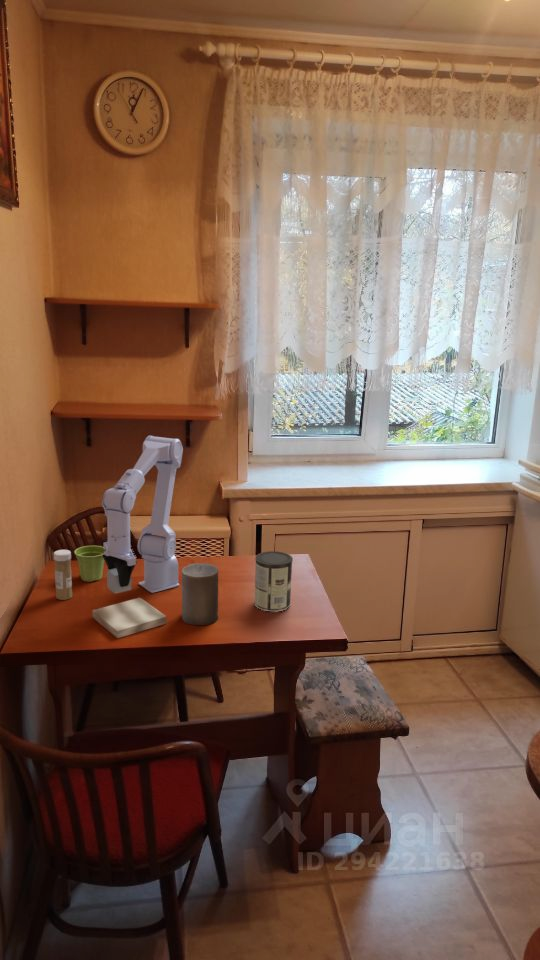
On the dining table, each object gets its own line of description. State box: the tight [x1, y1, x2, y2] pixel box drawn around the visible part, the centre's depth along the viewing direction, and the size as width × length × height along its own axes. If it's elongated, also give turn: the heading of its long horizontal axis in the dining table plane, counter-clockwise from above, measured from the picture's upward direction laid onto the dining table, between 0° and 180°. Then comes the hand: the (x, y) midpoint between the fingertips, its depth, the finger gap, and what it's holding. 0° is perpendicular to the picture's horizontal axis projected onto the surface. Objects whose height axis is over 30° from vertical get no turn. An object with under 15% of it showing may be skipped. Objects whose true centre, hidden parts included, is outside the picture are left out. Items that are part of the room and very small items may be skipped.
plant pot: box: [73, 545, 107, 583], centre depth 203 cm, size 9×9×9 cm
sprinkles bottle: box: [53, 549, 74, 601], centre depth 189 cm, size 5×5×14 cm
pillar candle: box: [181, 562, 219, 626], centre depth 180 cm, size 10×10×15 cm
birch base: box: [92, 597, 167, 639], centre depth 178 cm, size 14×14×2 cm
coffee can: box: [253, 550, 294, 613], centre depth 189 cm, size 10×10×14 cm
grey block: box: [106, 568, 132, 594], centre depth 179 cm, size 5×5×5 cm
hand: (119, 582), depth 180 cm, fingers closed on grey block, 5 cm apart
